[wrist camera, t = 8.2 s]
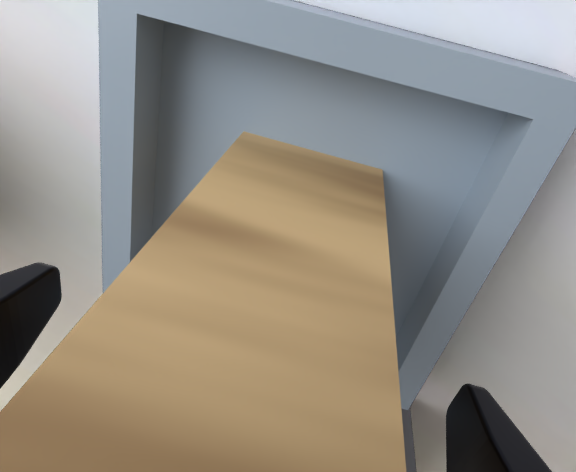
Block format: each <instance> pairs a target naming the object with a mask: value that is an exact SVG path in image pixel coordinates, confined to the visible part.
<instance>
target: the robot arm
mask: <svg viewBox="0 0 576 472" xmlns="http://www.w3.org/2000/svg"><path fill="white" fill-rule="evenodd" d="M60 301H61V283H60V272H59V270H58V268H57V267H55V266H52V265H48V264H44V263H34V264H31V265H28V266H25V267H22V268H19V269H16V270H13V271H10V272H7V273H4V274H1V275H0V388H1V387H2V386H3V385H4V383H5V382H6V381H7V380H8V379H9V377H10V376H11V375H12V374H13V372H14V371H15V370H16V369H17V367H18V366H19V365H20V363H21V362H22V360H23V359H24V358H25V356H26V355H27V353H28V352H29V350H30V349H31V347H32V345H33V344H34V342H35V341H36V339H37V338H38V336H39V335H40V333H41V332H42V330H43V329H44V327H45V326H46V324H47V323H48V321H49V320H50V318H51V317H52V315H53V314H54V312H55V311H56V309H57V307H58V306H59V304H60ZM446 458H447V472H552V471H551V470H550V469H549V467H548V466H547V465H546V464H545V462H544V461H543V460H542V459H541V457H540V456H539V455H538V454H537V452H536V451H535V450H534V449H533V447H532V446H531V445H530V443H529V442H528V441H527V440H526V438H525V437H524V436H523V435H522V433H521V432H520V431H519V430H518V428H517V427H516V426H515V425H514V423H513V422H512V421H511V420H510V418H509V417H508V416H507V415H506V413H505V412H504V411H503V410H502V408H501V407H500V406H499V404H498V403H497V402H496V401H495V399H494V398H493V397H492V396H491V394H490V393H489V392H488V391H487V390H486V389H484V388H482V387H479V386H475V385H472V384H465V385H463V386H462V387H461V389H460V390H459V392H458V393H457V395H456V396H455V398H454V399H453V401H452V402H451V404H450V405H449V407H448V410H447V415H446Z"/></svg>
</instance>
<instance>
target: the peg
mask: <svg viewBox="0 0 576 472" xmlns="http://www.w3.org/2000/svg"><path fill="white" fill-rule="evenodd" d="M0 472H406V461H405V448H404V435H403V423H402V410H401V397H400V385H399V372H398V359H397V347H396V334H395V321H394V309H393V296H392V283H391V271H390V258H389V245H388V233H387V220H386V207H385V194H384V182H383V170H382V169H379V168H375V167H371V166H368V165H364V164H360V163H357V162H353V161H350V160H346V159H342V158H339V157H335V156H331V155H328V154H324V153H321V152H317V151H313V150H310V149H306V148H303V147H299V146H295V145H292V144H288V143H284V142H281V141H277V140H274V139H270V138H266V137H263V136H259V135H255V134H252V133H248V132H245V131H243V132H242V134H241V135H240V136H239V137H238V138H237V139H236V140H235V142H234V143H233V144H232V145H231V146H230V147H229V149H228V150H227V151H226V152H225V153H224V154H223V155H222V157H221V158H220V159H219V160H218V161H217V162H216V164H215V165H214V166H213V167H212V168H211V169H210V171H209V172H208V173H207V174H206V175H205V176H204V177H203V179H202V180H201V181H200V182H199V183H198V184H197V186H196V187H195V188H194V189H193V190H192V191H191V192H190V194H189V195H188V196H187V197H186V198H185V199H184V201H183V202H182V203H181V204H180V205H179V206H178V207H177V209H176V210H175V211H174V212H173V213H172V214H171V216H170V217H169V218H168V219H167V220H166V221H165V222H164V224H163V225H162V226H161V227H160V228H159V229H158V231H157V232H156V233H155V234H154V235H153V236H152V237H151V239H150V240H149V241H148V242H147V243H146V244H145V246H144V247H143V248H142V249H141V250H140V251H139V252H138V254H137V255H136V256H135V257H134V258H133V259H132V261H131V262H130V263H129V264H128V265H127V266H126V267H125V269H124V270H123V271H122V272H121V273H120V274H119V276H118V277H117V278H116V279H115V280H114V281H113V282H112V284H111V285H110V286H109V287H108V288H107V289H106V291H105V292H104V293H103V294H102V295H101V296H100V297H99V299H98V300H97V301H96V302H95V303H94V304H93V306H92V307H91V308H90V309H89V310H88V311H87V313H86V314H85V315H84V316H83V317H82V318H81V319H80V321H79V322H78V323H77V324H76V325H75V326H74V328H73V329H72V330H71V331H70V332H69V333H68V334H67V336H66V337H65V338H64V339H63V340H62V341H61V343H60V344H59V345H58V346H57V347H56V348H55V349H54V351H53V352H52V353H51V354H50V355H49V356H48V358H47V359H46V360H45V361H44V362H43V363H42V364H41V366H40V367H39V368H38V369H37V370H36V371H35V373H34V374H33V375H32V376H31V377H30V378H29V379H28V381H27V382H26V383H25V384H24V385H23V386H22V388H21V389H20V390H19V391H18V392H17V393H16V394H15V396H14V397H13V398H12V399H11V400H10V401H9V403H8V404H7V405H6V406H5V407H4V408H3V409H2V411H1V412H0Z"/></svg>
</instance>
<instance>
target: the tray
mask: <svg viewBox="0 0 576 472" xmlns="http://www.w3.org/2000/svg"><path fill="white" fill-rule="evenodd" d="M98 19H99V84H100V148H101V212H102V276H103V293H104V292H105V291H106V289H107V288H108V287H109V286H110V285H111V284H112V282H113V281H114V280H115V279H116V278H117V277H118V276H119V274H120V273H121V272H122V271H123V270H124V269H125V267H126V266H127V265H128V264H129V263H130V262H131V261H132V259H133V258H134V257H135V256H136V255H137V254H138V252H139V251H140V250H141V249H142V248H143V247H144V246H145V244H146V243H147V242H148V241H149V240H150V239H151V237H152V236H153V235H154V234H155V233H156V232H157V231H158V229H159V228H160V227H161V226H162V225H163V224H164V222H165V221H166V220H167V219H168V218H169V217H170V216H171V214H172V213H173V212H174V211H175V210H176V209H177V207H178V206H179V205H180V204H181V203H182V202H183V201H184V199H185V198H186V197H187V196H188V195H189V194H190V192H191V191H192V190H193V189H194V188H195V187H196V186H197V184H198V183H199V182H200V181H201V180H202V179H203V177H204V176H205V175H206V174H207V173H208V172H209V171H210V169H211V168H212V167H213V166H214V165H215V164H216V162H217V161H218V160H219V159H220V158H221V157H222V155H223V154H224V153H225V152H226V151H227V150H228V149H229V147H230V146H231V145H232V144H233V143H234V142H235V140H236V139H237V138H238V137H239V136H240V135H241V134H242V132H243V131H245V132H248V133H252V134H255V135H259V136H263V137H266V138H270V139H274V140H277V141H281V142H284V143H288V144H292V145H295V146H299V147H303V148H306V149H310V150H313V151H317V152H321V153H324V154H328V155H331V156H335V157H339V158H342V159H346V160H350V161H353V162H357V163H360V164H364V165H368V166H371V167H375V168H379V169H382V170H383V182H384V194H385V207H386V220H387V233H388V245H389V258H390V271H391V283H392V296H393V309H394V321H395V334H396V347H397V359H398V372H399V385H400V397H401V408H402V409H405V410H408V409H409V408H410V406H411V404H412V403H413V401H414V399H415V398H416V396H417V394H418V392H419V391H420V389H421V387H422V386H423V384H424V382H425V381H426V379H427V377H428V376H429V374H430V372H431V371H432V369H433V367H434V366H435V364H436V362H437V360H438V359H439V357H440V355H441V354H442V352H443V350H444V349H445V347H446V345H447V344H448V342H449V340H450V339H451V337H452V335H453V334H454V332H455V330H456V328H457V327H458V325H459V323H460V322H461V320H462V318H463V317H464V315H465V313H466V312H467V310H468V308H469V307H470V305H471V303H472V302H473V300H474V298H475V297H476V295H477V293H478V291H479V290H480V288H481V286H482V285H483V283H484V281H485V280H486V278H487V276H488V275H489V273H490V271H491V270H492V268H493V266H494V265H495V263H496V261H497V259H498V258H499V256H500V254H501V253H502V251H503V249H504V248H505V246H506V244H507V243H508V241H509V239H510V238H511V236H512V234H513V233H514V231H515V229H516V227H517V226H518V224H519V222H520V221H521V219H522V217H523V216H524V214H525V212H526V211H527V209H528V207H529V206H530V204H531V202H532V201H533V199H534V197H535V196H536V194H537V192H538V190H539V189H540V187H541V185H542V184H543V182H544V180H545V179H546V177H547V175H548V174H549V172H550V170H551V169H552V167H553V165H554V164H555V162H556V160H557V158H558V157H559V155H560V153H561V152H562V150H563V148H564V147H565V145H566V143H567V142H568V140H569V138H570V137H571V135H572V133H573V132H574V130H575V128H576V78H575V77H572V76H570V75H568V74H565V73H563V72H561V71H559V70H555V69H552V68H548V67H544V66H540V65H536V64H533V63H529V62H525V61H521V60H517V59H514V58H510V57H506V56H502V55H498V54H495V53H491V52H487V51H483V50H479V49H476V48H472V47H468V46H464V45H460V44H457V43H453V42H449V41H445V40H441V39H438V38H434V37H430V36H426V35H422V34H419V33H415V32H411V31H407V30H404V29H400V28H396V27H392V26H388V25H385V24H381V23H377V22H373V21H369V20H366V19H362V18H358V17H354V16H350V15H347V14H343V13H339V12H335V11H331V10H328V9H324V8H320V7H316V6H312V5H309V4H305V3H301V2H297V1H293V0H98Z"/></svg>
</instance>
